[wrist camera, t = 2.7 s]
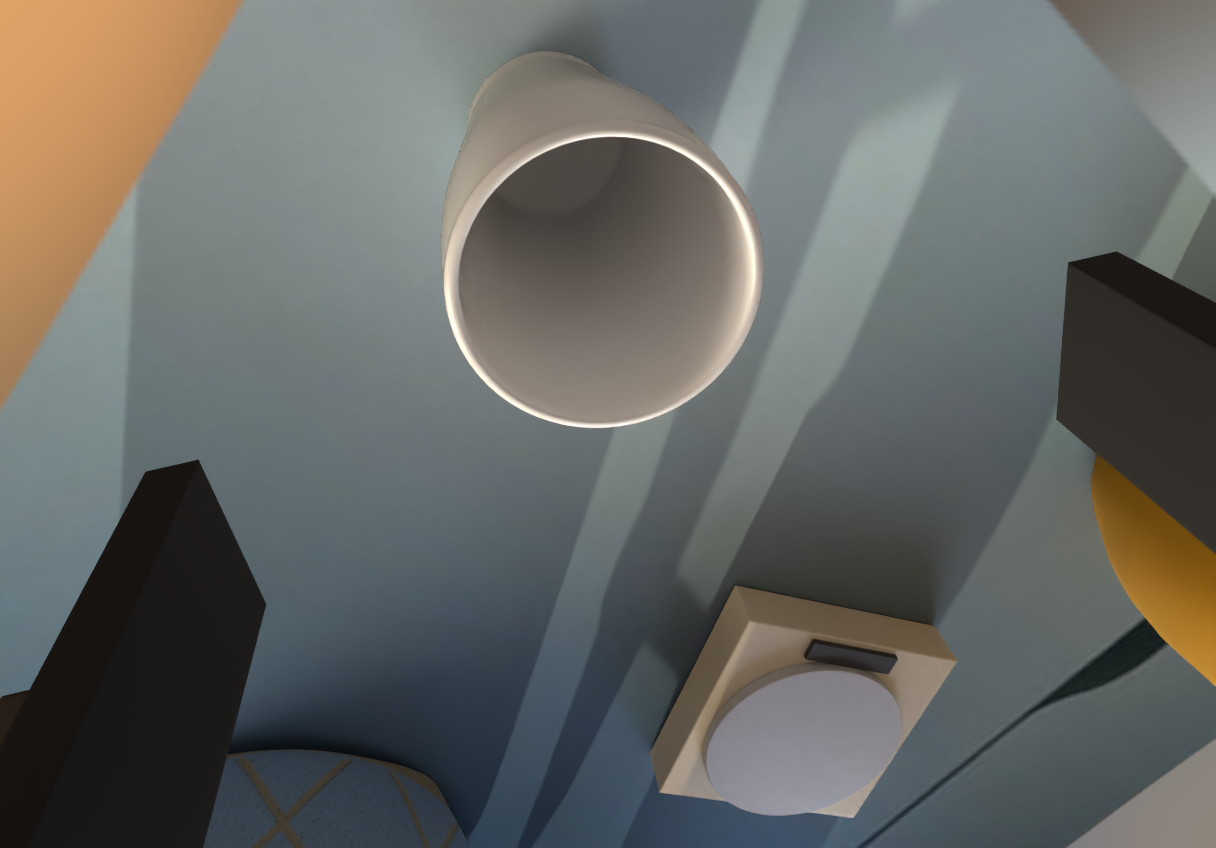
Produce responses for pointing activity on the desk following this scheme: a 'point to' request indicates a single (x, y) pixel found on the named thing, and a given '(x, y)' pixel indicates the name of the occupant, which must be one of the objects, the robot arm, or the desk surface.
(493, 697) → the desk surface
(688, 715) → the scale
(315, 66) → the desk surface
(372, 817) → the planter
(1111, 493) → the apple
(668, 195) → the drinking glass
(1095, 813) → the desk surface
